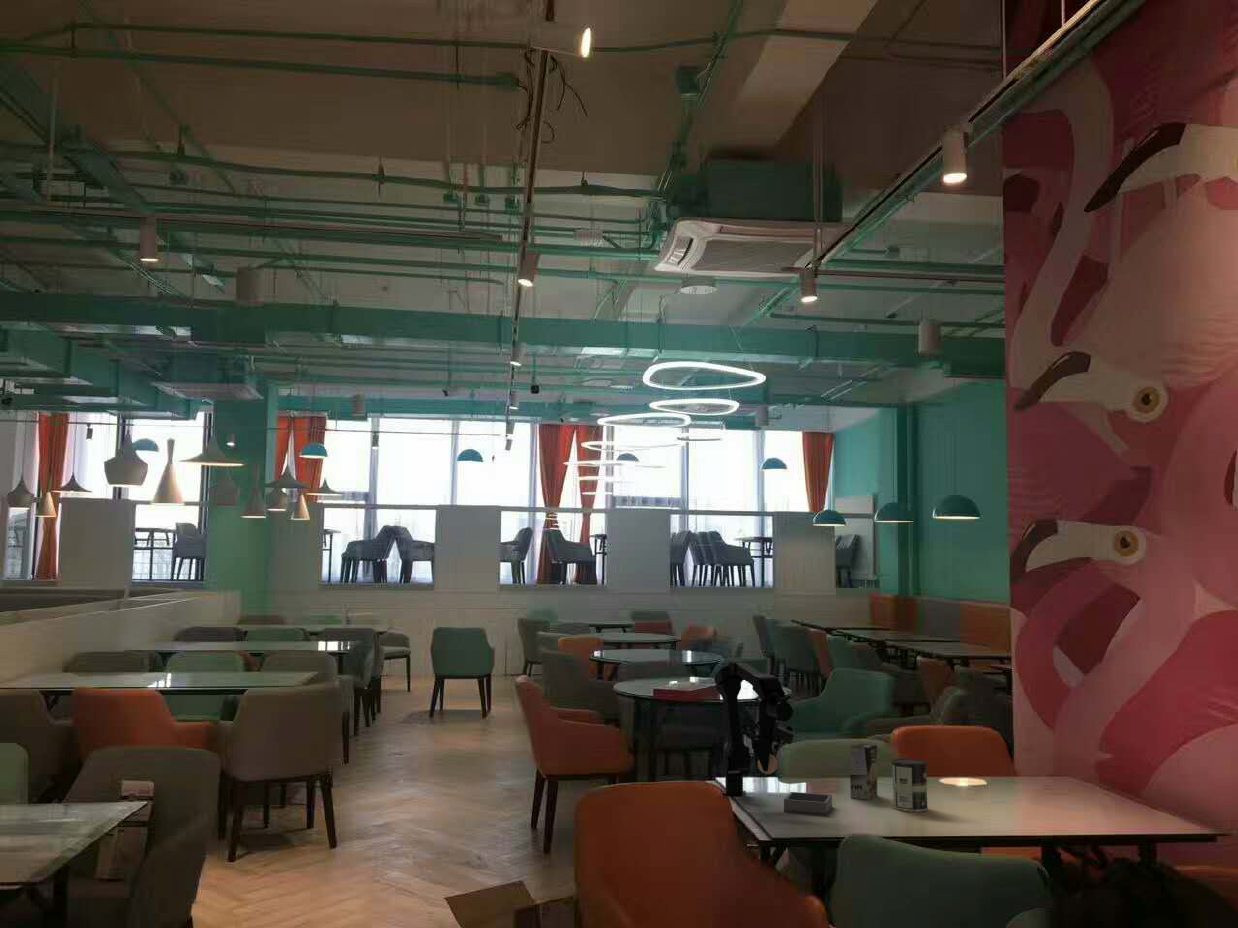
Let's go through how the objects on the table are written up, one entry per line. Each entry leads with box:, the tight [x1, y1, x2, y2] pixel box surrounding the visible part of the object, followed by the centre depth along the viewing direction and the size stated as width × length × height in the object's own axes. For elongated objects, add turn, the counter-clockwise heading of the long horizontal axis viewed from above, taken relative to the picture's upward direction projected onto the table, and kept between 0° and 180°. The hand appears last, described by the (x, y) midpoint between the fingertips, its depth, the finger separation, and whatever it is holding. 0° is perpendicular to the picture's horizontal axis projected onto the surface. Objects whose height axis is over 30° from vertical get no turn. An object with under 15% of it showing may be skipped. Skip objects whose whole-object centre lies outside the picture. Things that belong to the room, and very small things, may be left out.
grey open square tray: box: [783, 791, 833, 816], centre depth 305 cm, size 13×13×4 cm
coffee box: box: [849, 743, 878, 800], centre depth 326 cm, size 9×6×16 cm
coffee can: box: [891, 758, 928, 813], centre depth 309 cm, size 10×10×14 cm
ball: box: [757, 754, 778, 775], centre depth 309 cm, size 6×6×6 cm
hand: (767, 769), depth 309 cm, fingers closed on ball, 6 cm apart
